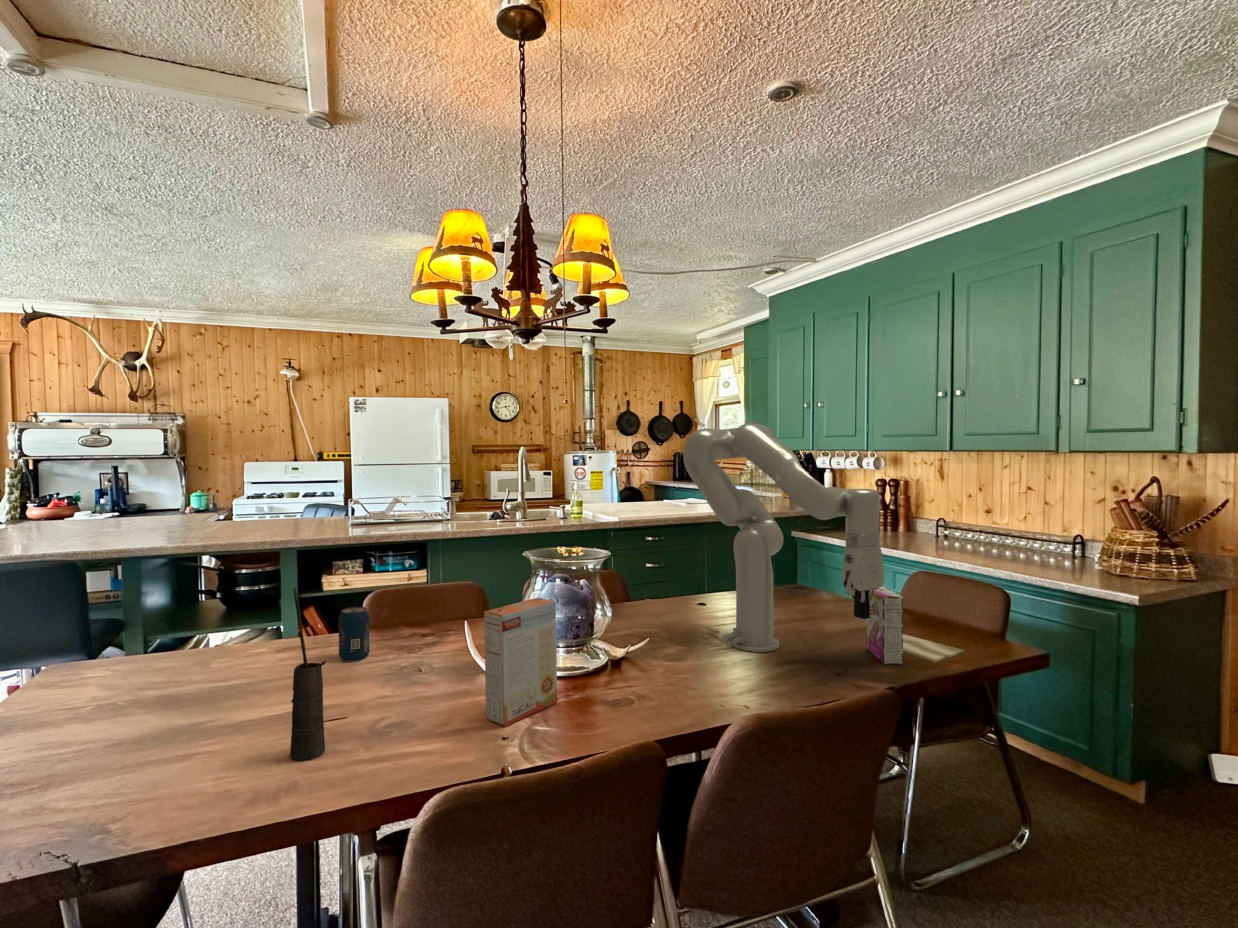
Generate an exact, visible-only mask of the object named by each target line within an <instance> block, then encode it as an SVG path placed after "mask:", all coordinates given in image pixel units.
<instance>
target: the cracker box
mask: <svg viewBox="0 0 1238 928" xmlns="http://www.w3.org/2000/svg"><path fill="white" fill-rule="evenodd" d="M483 619H484V620H483V622H484V623H483V625H484V626H483V627H484V631H483V632H484V673H485V675H484V678H485V716H486V717H485V719H486V720H487V721H490V722H493V723H495V724H497V725H500V726H503V727H507V726H510V725H512V724H514V723H516V722H518V721H520V720H522V719H524V718H525V719H526V718H527V717H529V716H531V715H533V714H536V713H538V712H540V711H541V710H544V709H546V708H548V707H551V706H553V705H555V704H557V703H558V675H557V674H558V670H557V669H558V667H557V664H558V663H557V655H558V654H557V603H556V600H555V601H554V600H551V599H546V598H543V597H535V598H531V599H527V600H523V601H519V602H515V603H512V604H508V605H504V606H500V607H497V608H492V609H489V610H485V611H484V612H483Z"/></svg>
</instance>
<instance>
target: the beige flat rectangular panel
mask: <svg viewBox="0 0 1238 928" xmlns="http://www.w3.org/2000/svg"><path fill="white" fill-rule="evenodd" d="M964 653H965V650H964V649H961V648H957V647H954V646H949V645H945V644H942V643H937V642H934V641H931V640H926V639H924V638H919V637H916V636H912V635H908V634H905V633H903V654H907V655H909V656H913V657H916V658H920V659H924V660H927V661H928V662H929V661H930V662H934V663H937V662H940V661H943V660H946V659H949V658H953V657H954V656H959V655H961V654H964Z"/></svg>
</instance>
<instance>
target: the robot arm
mask: <svg viewBox="0 0 1238 928" xmlns="http://www.w3.org/2000/svg"><path fill="white" fill-rule="evenodd" d="M685 441H686V442H685V443H684V447H683V450H682V451H683V453H682V454H683V455H682V456H683V457H682V458H683V464H684V467H685V470H686V472H687V473H688V475H689V478H690V479H691V480H692V481H693V483H694V484H695V485H696V487H697V488H698V490H699V491H700V493H701V495H702V496H703V498H704V500H705V501H706V502H707V503H708V506H709V507H710V508H711V510H712V511H713V512H714V514H715V516H716V518H717V519H718V520H719V521H720V522H721V523H722V524H723V525H725V526H727V527H737V526H738V528H739V529H740V530H739V531H738V532H737V533H736V535H735V536H734V540H733V555H734V563H735V587H736V588H735V591H736V596H735V597H736V598H735V604H736V605H735V606H736V607H735V608H736V610H735V615H736V616H735V627H733V628H732V632H731V633H726V634H722V637H721V638H722V641H723V643H729V644H730V646H732V647H733V648H735V649H738V650H741V651H745V652H752V653H768V652H773V651H776V650H777V649H779V648H780V640H778V639H777V638H776V637H774V571H773V569H774V568H773V564H772V556H774V555H776V554H777V553H778V552H779V551H781V549H782V547H783V545H784V534H783V532H782V530H781V528H780V526H779V524H778V522H776V520H775V519H774V517H773V516H772V515H771V513H770V512H769V510H768V509H767V507H766V506H765V505H764V503H763V502H762V501H761V499H760V498H759V497H758V496H757V495H756V494H755V493H753V492H752V491H750V490H748V489H744V488H738V487H737V486H736V485H735V484H734V482H732V480H731V479H730V477H729V475H728V474H727V472H726V471H725V470H724V469H723V468H722V467H721V466H720V465H719V464H718V463H717V461H718V460H726V459H727V460H728V459H738V458H741V459H742V458H745V459H747V460H748V461H749V462H750V463H752V464H753V465H754V466H756V468H758V469H759V470H760V471H761V472H763V473H764V474H765V475H766V476H768V477H769V478H770V479H772V480H773V482H774V483H775V484H776V486H778V488H779V489H780V490H781V491H782V492H783V493H784V494H785V495H786V496H787V497H788V498H789V499H790V500H791V501H792V502H793V503H795V504H796V505H797V506H798V507H800V508H801V509H802V510H803V511H805V513H807V514H809V515H810V516H811V517H813V518H815V519H818V520H822V521H827V520H828V521H829V520H831V519H833V518H839V517H845V545H844V546H845V547H844V551H843V558H842V559H843V560H842V570H841V571H842V576H841V577H842V578H841V579H842V581H841V582H842V585H843V587H844V588H845V595H846V596H847V595H848V596H851V597H852V601H853V616H854V617H855V618H859V619H861V620H866V619H868V618H870V602H869V601H871V599H872V594H873V592H875V591H877V590H878V588H880V587H884V584H885V576H884V575H885V574H884V561H883V553H882V549H881V546H880V513H881V512H880V508H881V507H880V497H881V496H880V493H879V492H878V490H876V489H873V488H872V489H871V488H851V489H848V488H842V487H839V486H838V487H837V486H827V487H826V486H825V485H823V484H822V483H820V482H819V481H818V480H817V479H815V478H814V477H813V476H811V474H809V473H808V472H807V471H806V470H805V469H804V468H803V467H802V465H801V463H800V460H799V458H798V456H797V454H795V452H793V451H792V450H791V449H789V448H787V446H785V445H784V444H783V443H781V442H780V441H779V440H777V439H776V438H775V436H774V433H773V432H772V430H771V429H770V428H769V427H768V426H766V425H764V424H760V423H751V422H749V423H748V422H747V423H744V424H741V425H739V426H738V427H735V428H734V427H733V428H724V429H723V428H722V429H717V428H700V429H697V430H695V431H694V432H692V433H691V434H690V435H689V436H688V438H687V439H686V440H685ZM716 460H717V461H716Z"/></svg>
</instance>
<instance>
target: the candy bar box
mask: <svg viewBox="0 0 1238 928" xmlns="http://www.w3.org/2000/svg"><path fill="white" fill-rule="evenodd" d="M869 602H870V618H868V619H865V620H866V624H865V625H866V627H865V629H866V642H865V646H866V650H867V651H868V652H869V653H870V654H872V655H873V656H874V658H876V659H877V660H878V661H880V662H881V663H882V664H883V665H903V664H904V662H903V660H904V659H903V656H904V653H903V634H904V610H903V609H904V607H903V606H904V596H901V595H900V594H899V593H897V592H894V591H892V590H891V589H889V588H887V587H886V586H882V587H880V588H878V590H877V591H875V592H873V594H872V599H871V601H869Z"/></svg>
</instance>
